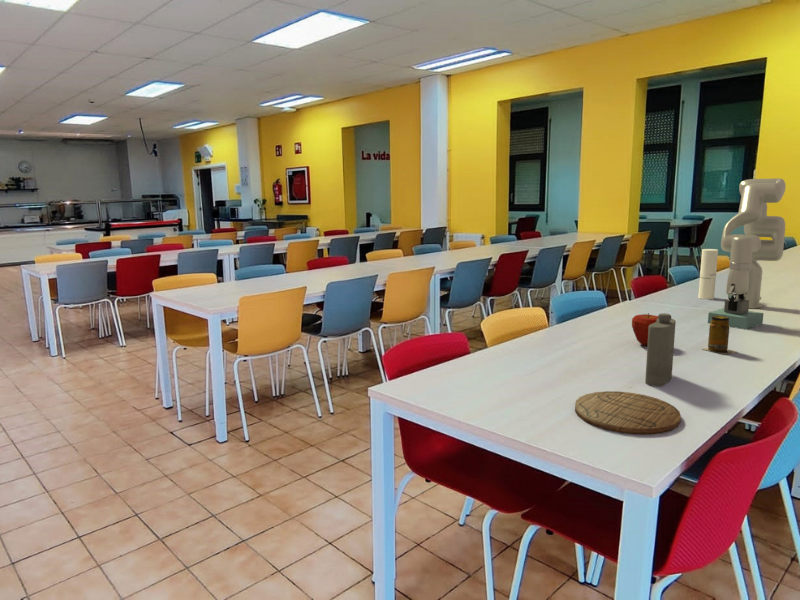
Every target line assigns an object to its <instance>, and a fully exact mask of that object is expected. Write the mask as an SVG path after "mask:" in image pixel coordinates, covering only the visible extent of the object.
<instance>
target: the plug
mask: <svg viewBox="0 0 800 600" xmlns="http://www.w3.org/2000/svg"><path fill="white" fill-rule="evenodd" d="M728 299H729V298H728ZM728 299H725V300H724V307H723V308H724V312H728V313H732V314H739V315H740V314H744V313H747V312H748V311H749V309H750V308H749V300H743V299H737V311H730V310H728V303H729V301H728Z"/></svg>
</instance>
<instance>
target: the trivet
mask: <svg viewBox="0 0 800 600" xmlns="http://www.w3.org/2000/svg"><path fill="white" fill-rule="evenodd" d="M574 405H575V406H574V412H575V414H576V415H577V417H578V418H580V419H581V420H582V421H584V422H585V423H586V424H587V423H588V424H589V425H591V426H593V427H596V428H599V429H603V430H606V431H610V432H614V433H619V434H620V433H621V434H626V435H627V434H628V435H637V436H639V435H641V436H643V435H644V436H646V435H648V436H649V435H650V436H651V435H660V434H665V433H668V432H672V431H674V430H676V429H678V428H679V426H680V424H681V423H682V422H681V420H682V415H681V412H680V410H679V409H678V408H677V407H675V406H674V405H673V404H671V403H670V402H667V401H664V400H663V399H660V398H657V397H653V396H650V395H645V394H641V393H637V392H636V393H635V392H631V391H629V392H628V391H618V390H617V391H615V390H613V391H606V390H605V391H597V392H590V393H586V394H583V395H581V396H579V397H578V398H577V399H576V401H575V404H574Z"/></svg>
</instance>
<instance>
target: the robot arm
mask: <svg viewBox="0 0 800 600" xmlns="http://www.w3.org/2000/svg"><path fill="white" fill-rule="evenodd" d="M738 187H739V188H738V189H739V194H740V196H741V197H740V202H739V208H738V213H736V214H735V215H734V216H732V217H731V219H729V220H728V221H727V222H726V224H725V225H724V227H723V230H722V235H721V240H720V248H721V250H722V251H723V252H726V253H727V252H728V253H730V258H729V269H728V270H729V271H728V275H727V280H726V288H725V293H726V294H727V297H728V301H729V303H728V310H730V311H737V299H743V300H749V309H762V308H763V307H764V304H763V303H760V301H761V300H762V296H761V292H762V291H761V290H762V280H763V268H762V266H761V265H760V263H758V261H766V262H777V261H779V260H781V259H782V257H783V256H784V248H785V247H784V246H785V236H786V235H785V234H786V221H785V219H784V218H783V217H782V216H777V215H775V216H774V215H767V212H768V204H771V203H773V204H774V203H776V204H777V203H779V202H780V201H781V200H782V199H783V196H784V194H785V192H786V187H787V186H786V182H785V180H784V179H783V178H750V179H745V180H742V181H741V182H740V183H739V186H738ZM739 227H743V234H739V233H738V234H737V233H736V234H735V233H732V232H733V231H734V230H736V229H737V228H739ZM761 238H770V239H761Z"/></svg>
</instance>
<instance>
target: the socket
mask: <svg viewBox="0 0 800 600" xmlns="http://www.w3.org/2000/svg"><path fill="white" fill-rule="evenodd" d="M707 316H708V317H707V324H711V323H712V322H711V321H712V317H713V316H725V317H728V318H729V326H731V327H730V328H735V327H737V328H736V329H741V328H744V329H743V330H748V329H747V328H749V329H751V328H754V327H757V326H759V324H760V325H762V323H764V312H759V311H752V310H748V312H747V313H744V314H740V315H739V314H732V313H728V312H724V307H723V308H720V309H716V310H712V311H709V312H708V315H707ZM756 325H757V326H756ZM753 326H754V327H753ZM750 327H751V328H750Z"/></svg>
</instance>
